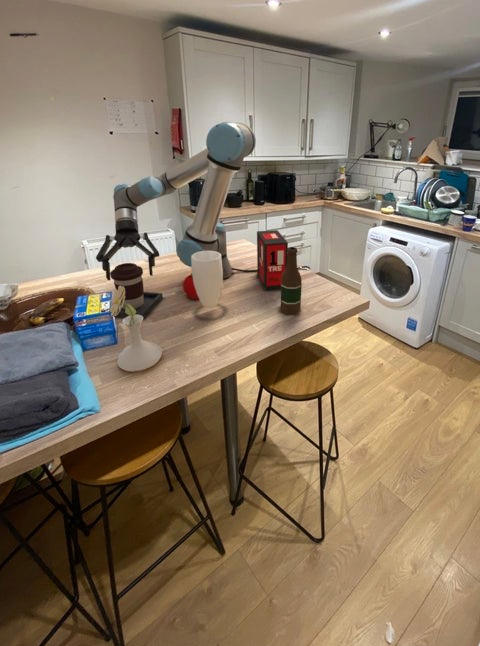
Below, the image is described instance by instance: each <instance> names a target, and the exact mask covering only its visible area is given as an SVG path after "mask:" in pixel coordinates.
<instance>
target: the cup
mask: <svg viewBox="0 0 480 646" xmlns="http://www.w3.org/2000/svg"><path fill="white" fill-rule="evenodd" d="M191 264H192V267H191V273H192V274H191V275H192V276H193V282H194V286H195V289H196V292H197V295H198V297H199V298H198V299H199V301H200V303H201V304H202V306H203V308H206V309H213V308H215V307H217V305H218V303H219V301H220V298H221V294H222V289H223V283H224V282H223V281H224V279H223V269H222V259H221V254H220V253H218V252H215V251H200V252H197V253H194V254H193V255H192V256H191Z"/></svg>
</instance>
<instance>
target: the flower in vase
mask: <svg viewBox="0 0 480 646" xmlns="http://www.w3.org/2000/svg"><path fill="white" fill-rule="evenodd" d="M124 299H125V288H124V286H123V287H122V286H119V287H118V291H117V289H116V288H115V289H114V294H113V298H111V299H110V302H111V303H113V304H112V305H111V308H110V310H109V312H111V311H112V312H111V316H114V317H115V316H116V315H118V313H119V312H120V310H121V308H122V307H123V304H124V305H125V306H126V309H125V312H126V314H128V315H129V316H128V317H126V318H122V320H121V322H122V324H123V325H124V326H126V327H127V329H128V330H129V333H130V336H131V343H130V344H129V345H127V346H126V347H125V348H124V349H122V351H121V352H120V353H119V354H118V357H117V360H116V364H117V366H118V368H120V369H122V370H123V371H126V372H140V371H144V370H147V369H149V368H151V367H153V366H154V365H156V364H157V363H158V362H159V360H160V359H161V357H162V356H163V350H162V348H161V347H160V346H159V345H158V344H156V343H154V342H151V341H145V340H143V339H142V336H141V335H142V334H141V324H142V322H143V316H141V315H135V314H136V310H135V309H134V308H133V307H132V306H131V305H130V304H129V303H128V304H126V303H125V302H124Z"/></svg>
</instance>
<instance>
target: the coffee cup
mask: <svg viewBox="0 0 480 646" xmlns="http://www.w3.org/2000/svg"><path fill="white" fill-rule="evenodd" d="M143 270H144V269H143V267H142V266H140V265H138V264H136V263H134V262H125V263H121V264H117V265H116V266H115V267H114V268H113V269H112V270H110V279H111V280H113V284H114V288H115V289H117V291H118V287H119V286H122V287H123V286H124V288H125V299H124V302H125V303H126V304H128V303H129V304H130V305H131V306H132V307H133V308H134V309H136V308H139V307H141V306H142V305H143V304H144V297H143V293H144V292H145V291H144V279H143V275H144V271H143ZM122 308H124V309H126V306H125V305H124V304H123V307H122Z"/></svg>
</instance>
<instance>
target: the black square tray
mask: <svg viewBox="0 0 480 646" xmlns="http://www.w3.org/2000/svg"><path fill="white" fill-rule="evenodd" d="M143 297H144V304H143V305H142V306H141V307H139V308H136V309H135V310H136V314H135V315H141V316H143V320H144V321H145V319H146V318H147V317H148V316H149V315H150V314H151V313H152V312H153V310H154V309H155V308H156V307H157V306H158V305H159V304H160V303H161V301H163V299H164V295H163V292H153V291H151V292H150V291H144V293H143ZM128 316H129V315H128V314H126V312H125V309H124V308H121V310H120V312H119V313H118V315H116V316H115V318H114V319H124V318H126V317H128ZM143 320H142V321H143Z"/></svg>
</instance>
